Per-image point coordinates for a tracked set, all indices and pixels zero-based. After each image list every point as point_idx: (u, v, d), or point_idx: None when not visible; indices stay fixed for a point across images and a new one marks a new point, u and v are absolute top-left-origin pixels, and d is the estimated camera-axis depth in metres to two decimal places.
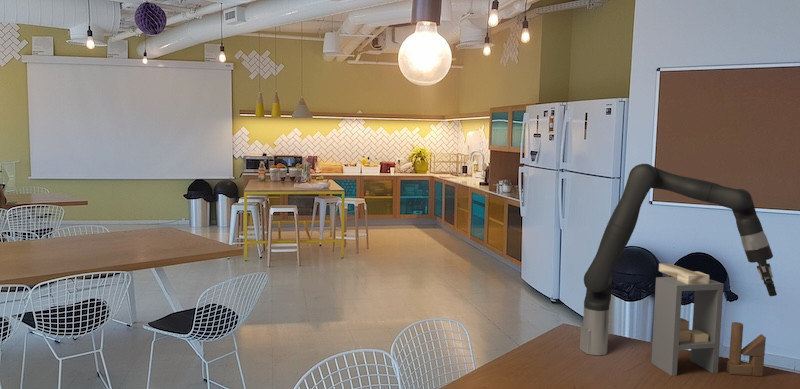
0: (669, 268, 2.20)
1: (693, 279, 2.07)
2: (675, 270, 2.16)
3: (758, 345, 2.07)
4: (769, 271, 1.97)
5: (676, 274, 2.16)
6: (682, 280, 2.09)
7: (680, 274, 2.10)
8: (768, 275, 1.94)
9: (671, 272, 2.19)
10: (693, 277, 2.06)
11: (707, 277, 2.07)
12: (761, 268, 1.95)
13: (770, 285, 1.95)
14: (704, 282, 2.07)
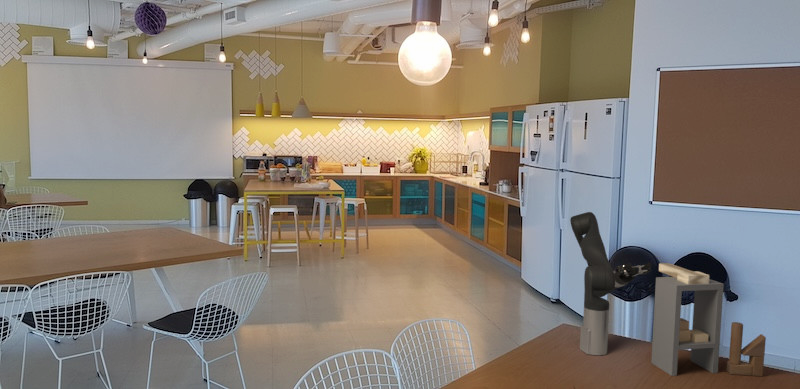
0: (669, 268, 2.20)
1: (693, 279, 2.07)
2: (675, 270, 2.16)
3: (758, 345, 2.07)
4: (638, 273, 2.49)
5: (676, 274, 2.16)
6: (682, 280, 2.09)
7: (680, 274, 2.10)
8: None
9: (671, 272, 2.19)
10: (693, 277, 2.06)
11: (707, 277, 2.07)
12: None
13: None
14: (704, 282, 2.07)
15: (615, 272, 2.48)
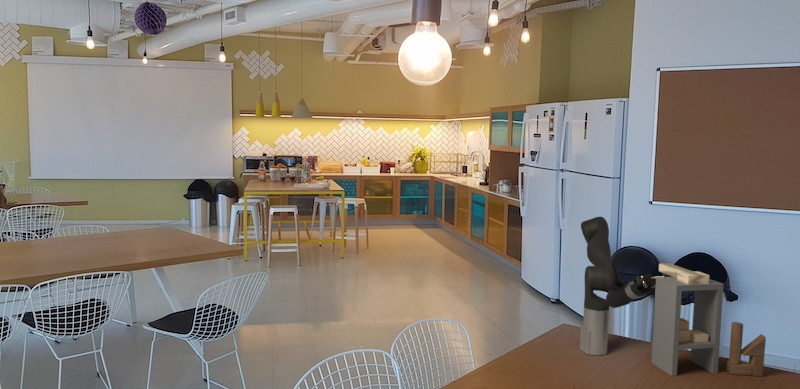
0: (669, 268, 2.20)
1: (693, 279, 2.07)
2: (675, 270, 2.16)
3: (758, 345, 2.07)
4: None
5: (676, 274, 2.16)
6: (682, 280, 2.09)
7: (680, 274, 2.10)
8: None
9: (671, 272, 2.19)
10: (693, 277, 2.06)
11: (707, 277, 2.07)
12: None
13: None
14: (704, 282, 2.07)
15: (633, 283, 2.34)
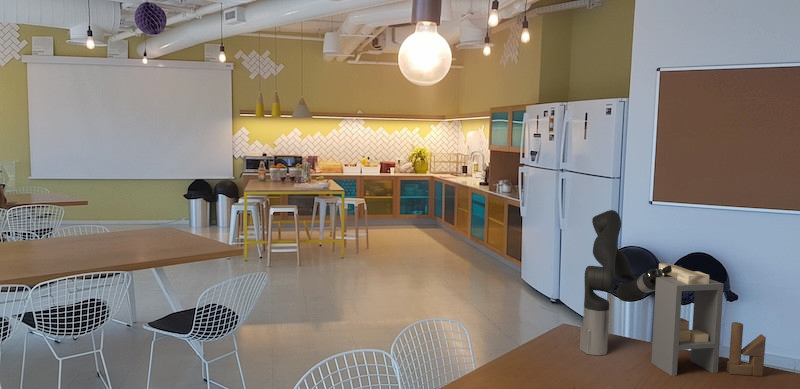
0: None
1: (693, 279, 2.07)
2: (675, 270, 2.16)
3: (758, 345, 2.07)
4: None
5: (676, 274, 2.16)
6: (682, 280, 2.09)
7: (680, 274, 2.10)
8: None
9: (671, 272, 2.19)
10: (693, 277, 2.06)
11: (707, 277, 2.07)
12: None
13: None
14: (704, 282, 2.07)
15: (650, 275, 2.25)
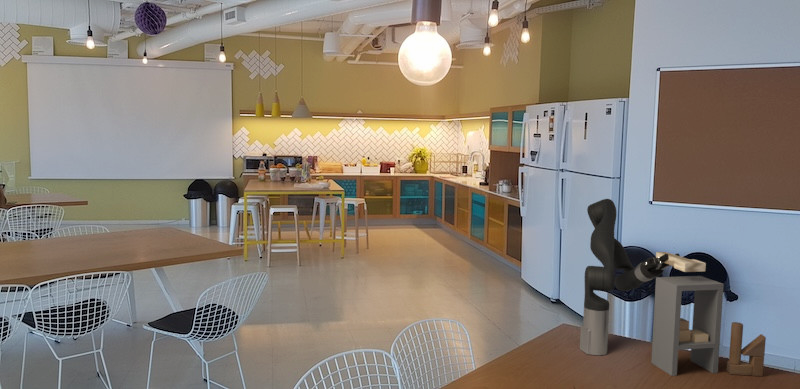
0: None
1: (690, 267, 2.08)
2: (672, 258, 2.18)
3: (758, 345, 2.07)
4: None
5: (673, 262, 2.17)
6: (679, 268, 2.11)
7: (677, 262, 2.12)
8: None
9: (668, 260, 2.20)
10: (689, 264, 2.08)
11: (703, 265, 2.09)
12: None
13: None
14: (700, 270, 2.09)
15: (647, 264, 2.26)
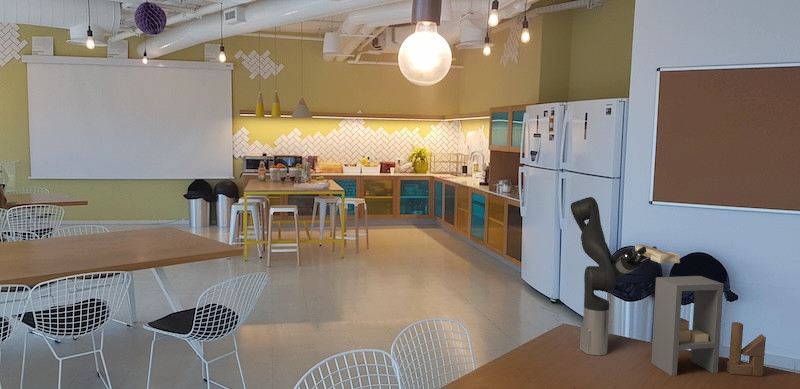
0: None
1: (665, 258, 2.22)
2: (649, 251, 2.32)
3: (758, 345, 2.07)
4: None
5: (650, 254, 2.31)
6: (655, 259, 2.25)
7: (653, 254, 2.26)
8: None
9: (646, 253, 2.34)
10: (664, 256, 2.22)
11: (678, 257, 2.23)
12: None
13: None
14: (675, 261, 2.23)
15: (627, 256, 2.40)
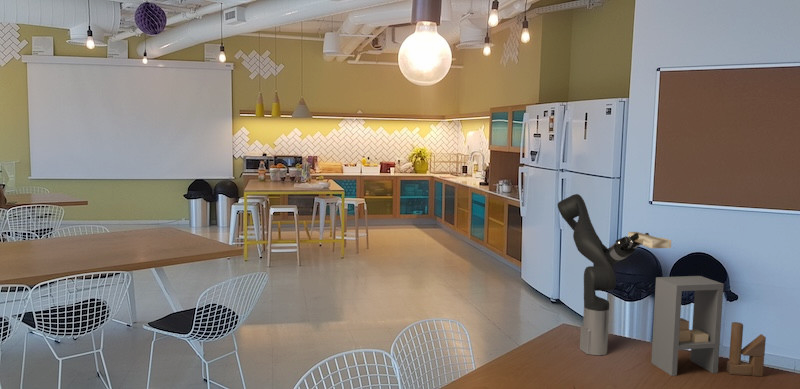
0: None
1: (656, 243, 2.27)
2: (641, 237, 2.37)
3: (758, 345, 2.07)
4: None
5: (642, 240, 2.37)
6: (647, 245, 2.30)
7: (645, 240, 2.31)
8: None
9: (638, 239, 2.39)
10: (656, 241, 2.27)
11: (669, 242, 2.28)
12: None
13: None
14: (666, 246, 2.28)
15: (620, 242, 2.45)
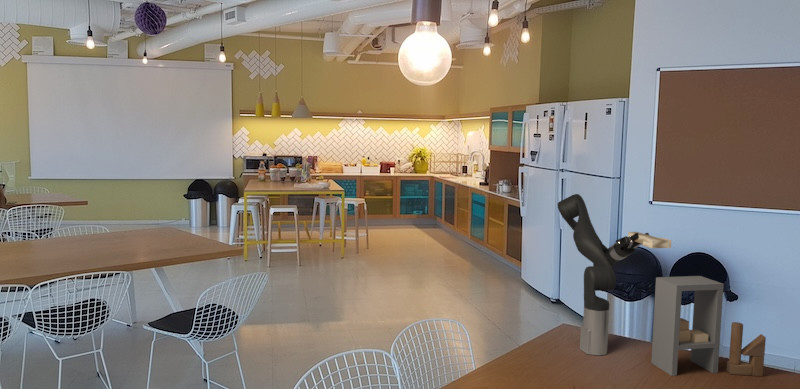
0: None
1: (656, 243, 2.27)
2: (641, 237, 2.37)
3: (758, 345, 2.07)
4: None
5: (642, 240, 2.37)
6: (647, 245, 2.30)
7: (645, 240, 2.31)
8: None
9: (638, 239, 2.39)
10: (656, 241, 2.27)
11: (669, 242, 2.28)
12: None
13: None
14: (666, 246, 2.28)
15: (620, 242, 2.45)
